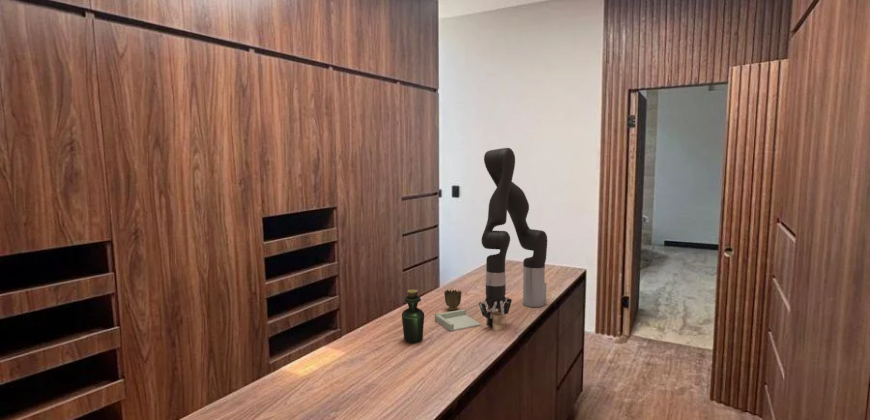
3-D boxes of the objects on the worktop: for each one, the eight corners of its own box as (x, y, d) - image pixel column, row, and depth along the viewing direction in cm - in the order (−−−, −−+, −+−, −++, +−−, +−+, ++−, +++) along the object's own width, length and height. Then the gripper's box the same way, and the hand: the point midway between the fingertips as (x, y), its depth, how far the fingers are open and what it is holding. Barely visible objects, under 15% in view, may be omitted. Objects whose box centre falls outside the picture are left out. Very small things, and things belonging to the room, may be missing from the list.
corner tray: (464, 315, 189) (464, 309, 188) (481, 325, 177) (481, 319, 177) (434, 320, 183) (434, 314, 183) (450, 331, 171) (450, 324, 171)
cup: (460, 313, 191) (460, 294, 190) (442, 312, 192) (442, 293, 191) (462, 307, 198) (462, 289, 197) (446, 306, 200) (445, 288, 199)
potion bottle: (419, 345, 158) (418, 295, 156) (398, 342, 161) (397, 293, 159) (428, 337, 166) (427, 288, 164) (407, 334, 169) (406, 287, 167)
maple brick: (494, 323, 179) (494, 309, 179) (505, 329, 173) (505, 314, 172) (486, 324, 177) (486, 311, 177) (496, 330, 171) (496, 316, 171)
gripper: (505, 278, 180) (505, 320, 182) (474, 282, 173) (474, 326, 175) (516, 282, 173) (516, 326, 175) (485, 287, 167) (484, 332, 169)
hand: (495, 326), depth 175 cm, fingers closed on maple brick, 4 cm apart
